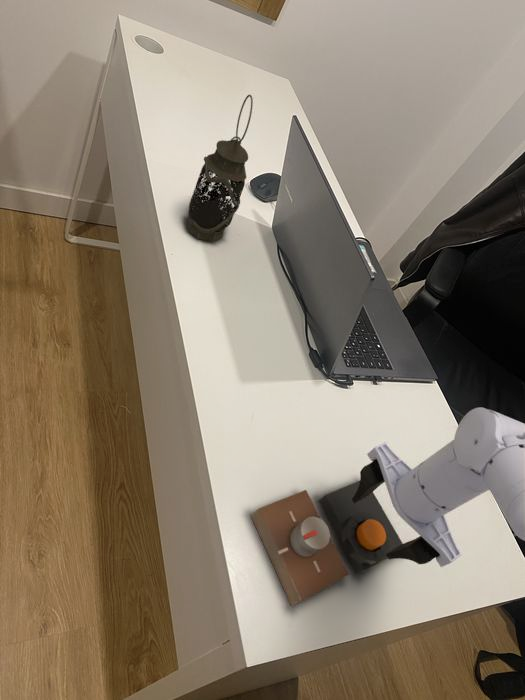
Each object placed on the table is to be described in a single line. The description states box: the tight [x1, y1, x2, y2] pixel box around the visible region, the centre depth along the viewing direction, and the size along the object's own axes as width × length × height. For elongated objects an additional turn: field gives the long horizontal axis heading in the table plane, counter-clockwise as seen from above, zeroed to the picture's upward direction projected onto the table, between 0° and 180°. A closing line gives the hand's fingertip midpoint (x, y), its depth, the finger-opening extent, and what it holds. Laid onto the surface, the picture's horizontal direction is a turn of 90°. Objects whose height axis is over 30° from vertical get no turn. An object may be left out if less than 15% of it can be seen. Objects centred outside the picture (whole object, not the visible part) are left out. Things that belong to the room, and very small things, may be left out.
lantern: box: [187, 94, 254, 243], centre depth 90 cm, size 10×9×28 cm
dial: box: [290, 517, 331, 557], centre depth 63 cm, size 4×4×4 cm
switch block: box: [318, 480, 404, 575], centre depth 70 cm, size 11×9×4 cm
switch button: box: [356, 519, 386, 550], centre depth 67 cm, size 4×4×2 cm
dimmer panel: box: [251, 489, 350, 607], centre depth 65 cm, size 12×8×3 cm
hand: (374, 525), depth 63 cm, fingers open, 7 cm apart
